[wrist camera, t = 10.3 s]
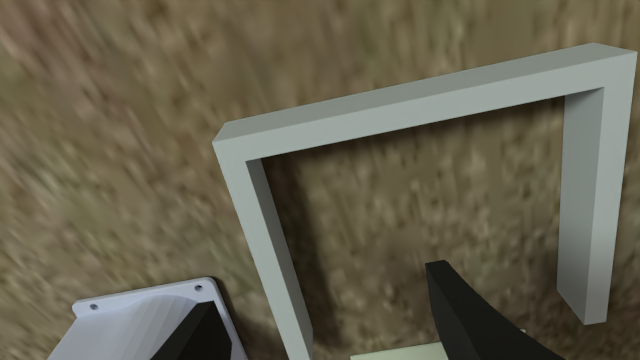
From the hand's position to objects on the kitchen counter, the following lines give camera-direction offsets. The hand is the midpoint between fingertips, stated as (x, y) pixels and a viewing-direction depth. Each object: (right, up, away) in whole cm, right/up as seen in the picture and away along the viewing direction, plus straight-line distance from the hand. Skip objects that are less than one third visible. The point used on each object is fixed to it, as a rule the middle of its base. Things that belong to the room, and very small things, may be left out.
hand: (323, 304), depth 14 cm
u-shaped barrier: (+6, +2, +10) cm, 12 cm away
